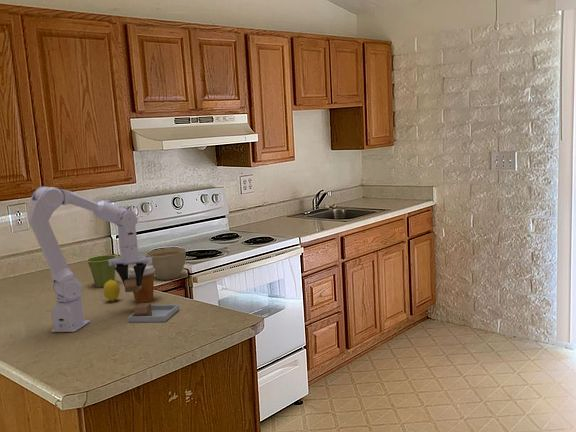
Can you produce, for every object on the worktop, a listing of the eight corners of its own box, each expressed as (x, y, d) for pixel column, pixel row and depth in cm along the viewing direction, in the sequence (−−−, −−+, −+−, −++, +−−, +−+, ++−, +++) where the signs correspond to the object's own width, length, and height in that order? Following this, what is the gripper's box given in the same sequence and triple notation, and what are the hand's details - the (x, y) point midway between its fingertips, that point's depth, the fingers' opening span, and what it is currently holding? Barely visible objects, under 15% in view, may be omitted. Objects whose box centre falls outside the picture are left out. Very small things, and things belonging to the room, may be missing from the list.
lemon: (116, 303, 202) (113, 281, 201) (101, 303, 203) (99, 281, 202) (123, 298, 207) (121, 277, 206) (109, 299, 209) (107, 277, 208)
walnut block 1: (136, 291, 189) (135, 279, 188) (125, 292, 189) (124, 280, 189) (141, 288, 193) (140, 276, 192) (130, 288, 193) (129, 277, 193)
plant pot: (83, 289, 227) (79, 261, 225) (101, 281, 238) (98, 254, 236) (108, 289, 223) (105, 261, 221) (126, 281, 234) (123, 254, 233)
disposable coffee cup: (163, 297, 206) (159, 264, 205) (148, 304, 197) (145, 270, 196) (140, 296, 209) (136, 264, 208) (125, 304, 200) (121, 270, 199)
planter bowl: (140, 279, 236) (138, 253, 235) (174, 271, 247) (171, 246, 246) (162, 284, 225) (159, 257, 223) (196, 275, 236) (193, 249, 234)
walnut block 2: (147, 319, 179) (146, 307, 179) (135, 319, 180) (134, 307, 180) (152, 315, 183) (151, 303, 183) (140, 315, 184) (139, 303, 183)
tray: (165, 322, 177) (164, 316, 176) (129, 322, 179) (128, 317, 179) (179, 310, 188) (178, 304, 188) (144, 310, 191) (144, 305, 190)
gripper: (154, 242, 192) (158, 281, 193) (113, 244, 194) (118, 283, 196) (145, 246, 185) (149, 287, 187) (103, 248, 187) (108, 288, 189)
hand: (133, 285), depth 191 cm, fingers closed on walnut block 1, 4 cm apart
